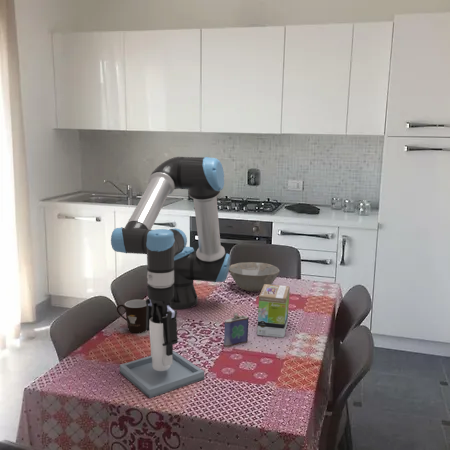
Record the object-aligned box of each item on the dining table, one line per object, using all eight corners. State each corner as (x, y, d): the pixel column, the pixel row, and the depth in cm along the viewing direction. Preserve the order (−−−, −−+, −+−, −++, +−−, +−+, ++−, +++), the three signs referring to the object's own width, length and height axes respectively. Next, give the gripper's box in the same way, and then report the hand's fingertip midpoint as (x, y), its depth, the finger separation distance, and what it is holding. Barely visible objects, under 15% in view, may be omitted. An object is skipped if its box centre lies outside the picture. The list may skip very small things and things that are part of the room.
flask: (226, 347, 167) (226, 317, 165) (221, 344, 170) (222, 314, 168) (249, 342, 172) (250, 312, 170) (244, 339, 174) (245, 309, 172)
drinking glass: (163, 375, 142) (162, 325, 140) (144, 369, 146) (144, 320, 143) (177, 366, 148) (177, 318, 145) (159, 360, 152) (159, 313, 149)
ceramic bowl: (280, 298, 217) (281, 275, 215) (227, 297, 218) (228, 274, 216) (276, 282, 239) (277, 262, 237) (228, 281, 239) (228, 261, 237)
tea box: (285, 338, 175) (286, 298, 173) (256, 335, 177) (257, 295, 175) (288, 322, 190) (289, 285, 187) (262, 320, 192) (263, 283, 189)
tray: (119, 372, 149) (119, 364, 149) (171, 356, 160) (171, 349, 159) (149, 398, 135) (149, 389, 135) (204, 378, 146) (204, 371, 145)
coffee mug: (154, 330, 181) (154, 303, 179) (134, 336, 175) (134, 309, 173) (134, 321, 188) (134, 296, 187) (115, 327, 182) (114, 301, 180)
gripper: (132, 278, 148) (134, 351, 152) (167, 295, 133) (167, 376, 137) (155, 274, 152) (156, 345, 156) (190, 290, 137) (190, 369, 141)
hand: (161, 360), depth 147 cm, fingers closed on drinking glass, 6 cm apart
